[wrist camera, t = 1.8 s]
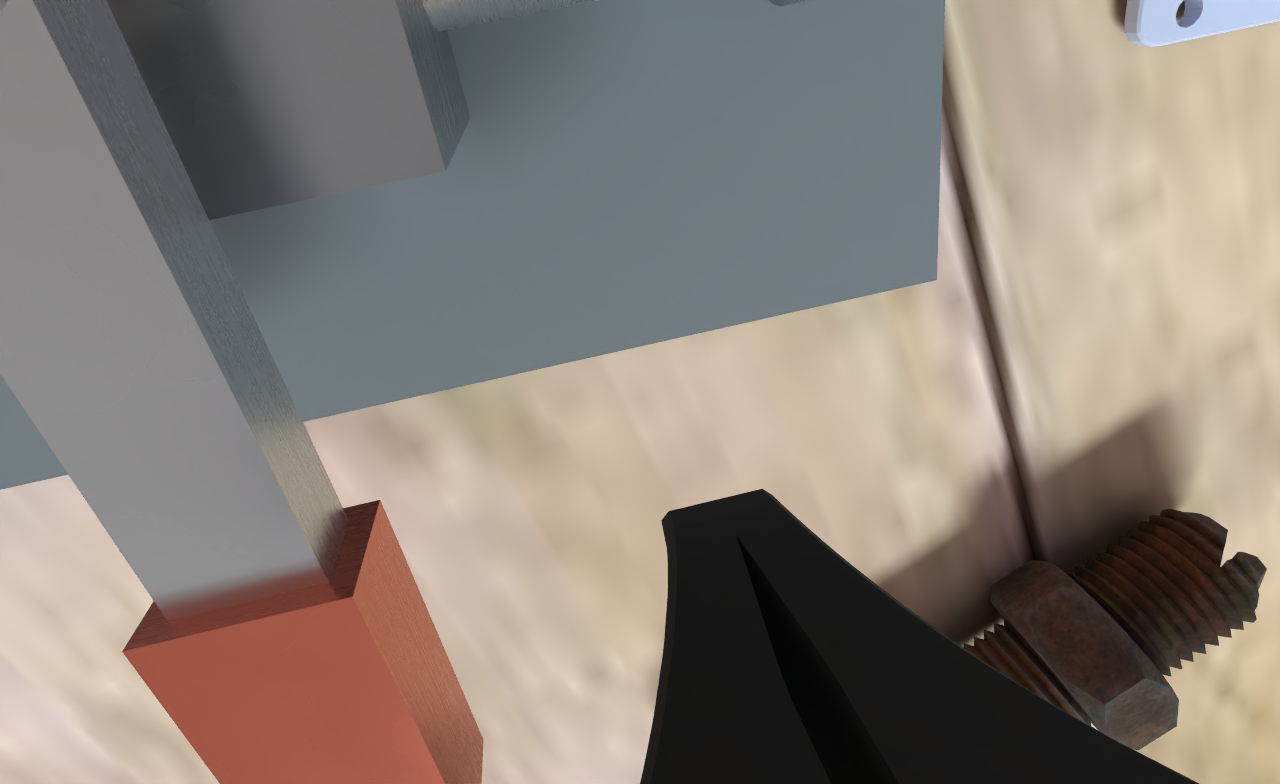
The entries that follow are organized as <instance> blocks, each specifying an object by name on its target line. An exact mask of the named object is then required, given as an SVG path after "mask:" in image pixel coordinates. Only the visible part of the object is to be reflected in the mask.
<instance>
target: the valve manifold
mask: <svg viewBox="0 0 1280 784" xmlns="http://www.w3.org/2000/svg"><path fill="white" fill-rule="evenodd" d="M593 1H598V0H107V2H108V4H109V7H110V9H111V11H112V13H113V15H114V17H115V19H116V22H117V24H118V26H119V28H120V30H121V32H122V35H123V37H124V39H125V41H126V43H127V45H128V47H129V50H130V52H131V54H132V56H133V58H134V60H135V62H136V65H137V67H138V69H139V71H140V73H141V75H142V78H143V80H144V82H145V84H146V86H147V88H148V90H149V93H150V95H151V97H152V99H153V101H154V103H155V105H156V108H157V110H158V112H159V114H160V116H161V118H162V120H163V123H164V125H165V127H166V129H167V131H168V133H169V136H170V138H171V140H172V142H173V144H174V146H175V148H176V151H177V153H178V155H179V157H180V159H181V161H182V163H183V166H184V168H185V170H186V172H187V174H188V176H189V179H190V181H191V183H192V185H193V187H194V189H195V191H196V194H197V196H198V198H199V200H200V202H201V204H202V206H203V209H204V211H205V213H206V215H207V217H208V219H209V220H212V219H217V218H222V217H226V216H231V215H236V214H241V213H246V212H251V211H255V210H260V209H265V208H270V207H275V206H280V205H285V204H289V203H294V202H299V201H304V200H309V199H314V198H318V197H323V196H328V195H333V194H338V193H343V192H347V191H352V190H357V189H362V188H367V187H372V186H376V185H381V184H386V183H391V182H396V181H401V180H405V179H410V178H415V177H420V176H425V175H430V174H434V173H439V172H444V171H446V170H447V168H448V165H449V163H450V161H451V159H452V157H453V155H454V152H455V150H456V148H457V146H458V144H459V142H460V139H461V137H462V135H463V133H464V131H465V129H466V126H467V124H468V122H469V120H470V114H469V111H468V107H467V103H466V100H465V96H464V92H463V88H462V85H461V81H460V77H459V74H458V70H457V66H456V62H455V59H454V55H453V51H452V48H451V44H450V40H449V37H448V33H447V30H450V29H455V28H460V27H465V26H470V25H475V24H480V23H485V22H491V21H496V20H501V19H506V18H511V17H516V16H521V15H526V14H531V13H537V12H542V11H547V10H552V9H557V8H562V7H567V6H572V5H577V4H583V3H588V2H593ZM768 1H769V2H771V3H773V4H774V5H777V6H786V5H791V4H796V3H801V2H806V1H811V0H768Z"/></svg>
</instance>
